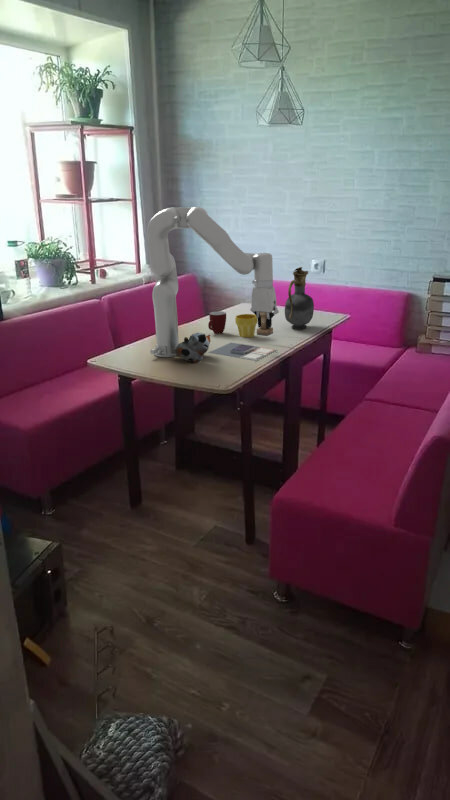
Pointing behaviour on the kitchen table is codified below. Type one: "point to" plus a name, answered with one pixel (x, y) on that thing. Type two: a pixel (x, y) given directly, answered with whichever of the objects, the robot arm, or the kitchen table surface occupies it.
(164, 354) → the robot arm
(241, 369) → the kitchen table surface
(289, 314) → the pitcher
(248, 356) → the paper sheet
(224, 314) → the mug
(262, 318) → the stamp
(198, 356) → the lucky cat figurine
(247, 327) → the plant pot
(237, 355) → the desk mat
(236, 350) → the ink pad
